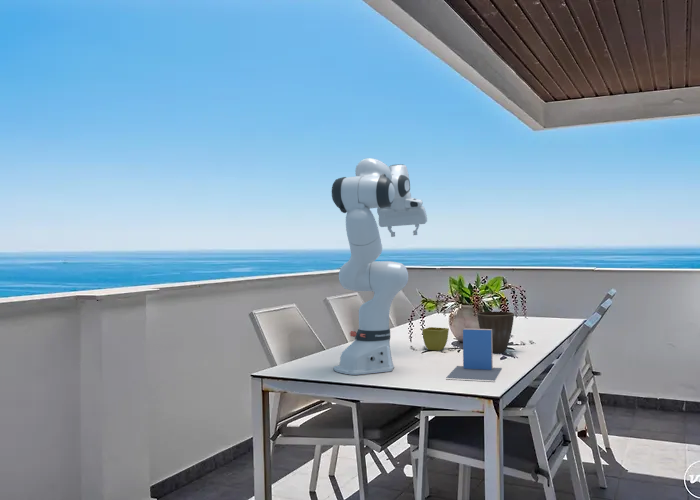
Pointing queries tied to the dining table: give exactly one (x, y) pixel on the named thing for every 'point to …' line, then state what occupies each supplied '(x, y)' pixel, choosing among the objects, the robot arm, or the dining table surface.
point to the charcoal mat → (474, 374)
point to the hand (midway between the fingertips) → (404, 235)
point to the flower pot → (435, 338)
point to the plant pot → (497, 328)
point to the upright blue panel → (477, 349)
